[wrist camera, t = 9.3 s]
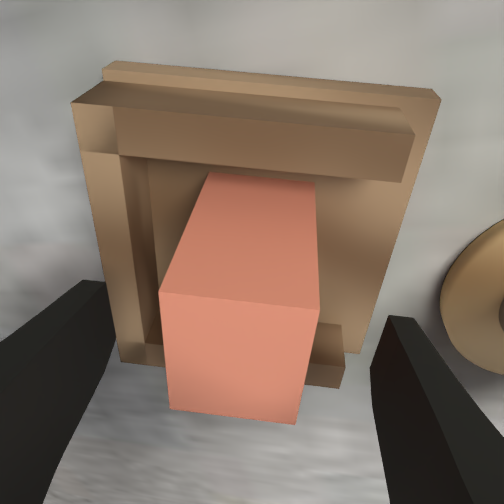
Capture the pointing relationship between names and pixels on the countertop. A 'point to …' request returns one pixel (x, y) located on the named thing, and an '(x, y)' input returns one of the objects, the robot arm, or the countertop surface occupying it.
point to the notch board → (251, 164)
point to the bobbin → (477, 301)
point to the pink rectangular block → (243, 299)
